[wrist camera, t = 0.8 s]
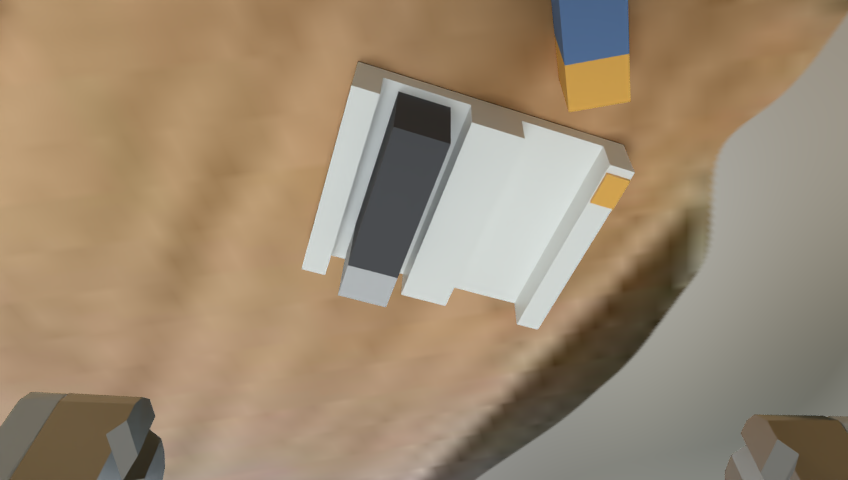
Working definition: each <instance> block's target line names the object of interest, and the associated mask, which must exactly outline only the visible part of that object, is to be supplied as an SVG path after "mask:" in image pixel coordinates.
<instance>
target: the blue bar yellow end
mask: <svg viewBox="0 0 848 480" xmlns="http://www.w3.org/2000/svg"><path fill="white" fill-rule="evenodd" d="M551 2H552V13H553V23H554V33H555V44H556V54H557V65H558V75H559V81H560V84H561V87H562V91H563V94H564V97H565V101H566V104H567V108H568V111H569V112H573V111H579V110H585V109H591V108H596V107H602V106H608V105H614V104H619V103H625V102H631V101H630V61H629V22H628V0H551Z"/></svg>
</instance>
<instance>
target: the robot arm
mask: <svg viewBox="0 0 848 480" xmlns="http://www.w3.org/2000/svg"><path fill="white" fill-rule="evenodd" d="M154 418H155V414H154V411H153V408H152V405H151V402H150V399H147V398H143V397H129V396H110V395H92V394H74V393H69V394H64V393H44V392H31V393H29V394H27V395H26V396H24V397H23V398H21V399H20V400H19V401H18V402H17V404H16V405H15V407H14V408H13V409H12V411H11V412H10V414H9V415H8V417H7V418H6V419H5V421H4V422H3V424H2V425H1V426H0V480H163V475H164V469H165V456H164V448H163V444H162V440H161V438H160V437H158V436H157V435H156V434H155V433H153V432H152V431H151V430H150V427H151V425H152V422H153V420H154ZM741 435H742V437H743V438H744V440H745V442H746V445H745V446H744V447H742V448H741V449H739V450H738V451H736V452H735V453H733V454H732V455H731V457H730V459H729V462H728V465H727V467H726V470H725V480H848V417H843V416H828V417H826V416H816V415H813V416H812V415H811V416H810V415H760V414H759V415H758V414H755V415H753V416H752V417H751V418H749V419H748V420H747V421H746V423H745V426H744V427H743V430H742V432H741Z"/></svg>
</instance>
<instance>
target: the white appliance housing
mask: <svg viewBox="0 0 848 480" xmlns="http://www.w3.org/2000/svg"><path fill="white" fill-rule="evenodd" d="M398 91H399V92H402V93H405V94H409V95H412V96H415V97H418V98H422V99H425V100H428V101H431V102H435V103H438V104H441V105H444V106H447V107H451V145H450V147H449V150H448V152H447V155H446V157H445V160H444V162H443V165H442V167H441V170H440V172H439V175H438V177H437V180H436V182H435V185H434V187H433V190H432V192H431V195H430V197H429V200H428V202H427V205H426V207H425V210H424V213H423V215H422V218H421V220H420V223H419V225H418V228H417V230H416V233H415V235H414V238H413V240H412V243H411V245H410V248H409V250H408V253H407V255H406V258H405V260H404V263H403V265H402V268H401V270H400V273H401V274H403V279H402V290H401V295H405V296H409V297H413V298H417V299H421V300H424V301H428V302H432V303H436V304H440V305H444V306H446V303H447V301H448V299H449V297H450V295H451V293H452V291H453V289H454V288H458V289H462V290H466V291H470V292H473V293H477V294H481V295H485V296H489V297H493V298H496V299H500V300H504V301H508V302H512V303H515V312H516V321H517V324H518V325H522V326H526V327H530V328H534V329H538V328H539V327H540V325H541V324H542V322H543V320H544V319H545V317H546V315H547V314H548V312H549V311H550V309H551V307H552V306H553V304H554V302H555V301H556V299H557V298H558V296H559V294H560V293H561V291H562V290H563V288H564V286H565V285H566V283H567V281H568V280H569V278H570V277H571V275H572V273H573V272H574V270H575V268H576V267H577V265H578V264H579V262H580V260H581V259H582V257H583V256H584V254H585V252H586V251H587V249H588V247H589V246H590V244H591V243H592V241H593V239H594V238H595V236H596V235H597V233H598V231H599V230H600V228H601V226H602V225H603V223H604V222H605V220H606V218H607V217H608V215H609V213H610V212H611V210H612V209H614V207H615V205H616V204H617V202H618V201H619V199H620V197H621V196H622V194H623V192H624V191H625V189H626V188H627V186H628V184H629V183H630V179H631V178H632V176H633V175H634V173H635V172H634V169H633V167H632V164H631V162H630V159H629V157H628V155H627V152H626V150H625V147H624V145H622V144H619V143H616V142H613V141H609V140H606V139H603V138H600V137H597V136H594V135H590V134H587V133H584V132H581V131H578V130H574V129H571V128H568V127H565V126H562V125H559V124H555V123H552V122H549V121H546V120H543V119H539V118H536V117H533V116H530V115H527V114H524V113H520V112H517V111H514V110H511V109H508V108H504V107H501V106H498V105H495V104H492V103H489V102H485V101H482V100H479V99H476V98H473V97H469V96H466V95H463V94H460V93H457V92H454V91H450V90H447V89H444V88H441V87H438V86H434V85H431V84H428V83H425V82H422V81H418V80H415V79H412V78H409V77H406V76H403V75H399V74H396V73H393V72H390V71H387V70H383V69H380V68H377V67H374V66H371V65H368V64H364V63H361V62H358V64H357V67H356V71H355V75H354V78H353V82H352V85H351V89H350V93H349V97H348V100H347V104H346V108H345V111H344V115H343V119H342V122H341V126H340V130H339V133H338V137H337V141H336V144H335V148H334V152H333V155H332V159H331V163H330V166H329V170H328V174H327V177H326V181H325V185H324V189H323V192H322V196H321V200H320V203H319V207H318V211H317V214H316V218H315V222H314V225H313V229H312V233H311V236H310V240H309V244H308V247H307V251H306V255H305V258H304V262H303V266H302V269H304V270H307V271H311V272H315V273H319V274H323V275H325V274H326V270H327V267H328V264H329V260H330V257H331V255H332V256H336V257H340V258H344V259H345V257H346V253H347V249H348V246H349V243H350V240H351V237H352V234H353V231H354V228H355V225H356V221H357V218H358V215H359V212H360V209H361V206H362V203H363V200H364V197H365V194H366V190H367V187H368V184H369V181H370V178H371V175H372V172H373V169H374V166H375V162H376V159H377V156H378V153H379V150H380V147H381V144H382V141H383V138H384V135H385V131H386V128H387V125H388V122H389V119H390V116H391V113H392V110H393V107H394V103H395V100H396V97H397V94H398Z"/></svg>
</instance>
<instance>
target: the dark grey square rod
mask: <svg viewBox="0 0 848 480" xmlns="http://www.w3.org/2000/svg"><path fill="white" fill-rule="evenodd" d="M450 145H451V107H447V106H444V105H441V104H438V103H435V102H431V101H428V100H425V99H422V98H418V97H415V96H412V95H409V94H405V93H402V92H399V91H398V94H397V97H396V100H395V103H394V107H393V110H392V113H391V116H390V119H389V122H388V125H387V128H386V131H385V135H384V138H383V141H382V144H381V147H380V150H379V153H378V156H377V159H376V162H375V166H374V169H373V172H372V175H371V178H370V181H369V184H368V187H367V190H366V194H365V197H364V200H363V203H362V206H361V209H360V212H359V215H358V218H357V221H356V225H355V228H354V231H353V234H352V237H351V240H350V243H349V246H348V249H347V253H346V257H345V262H344V267H343V273H342V278H341V283H340V288H339V293H338V295H340V296H344V297H348V298H351V299H355V300H359V301H363V302H367V303H371V304H375V305H379V306H383V307H386V306H387V303H388V301H389V298H390V296H391V293H392V290H393V288H394V285H395V283H396V280H397V278H398V275H399V273H400V270H401V268H402V265H403V263H404V260H405V258H406V255H407V253H408V250H409V248H410V245H411V243H412V240H413V238H414V235H415V233H416V230H417V228H418V225H419V223H420V220H421V218H422V215H423V213H424V210H425V207H426V205H427V202H428V200H429V197H430V195H431V192H432V190H433V187H434V185H435V182H436V180H437V177H438V175H439V172H440V170H441V167H442V165H443V162H444V160H445V157H446V155H447V152H448V150H449V147H450Z"/></svg>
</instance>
